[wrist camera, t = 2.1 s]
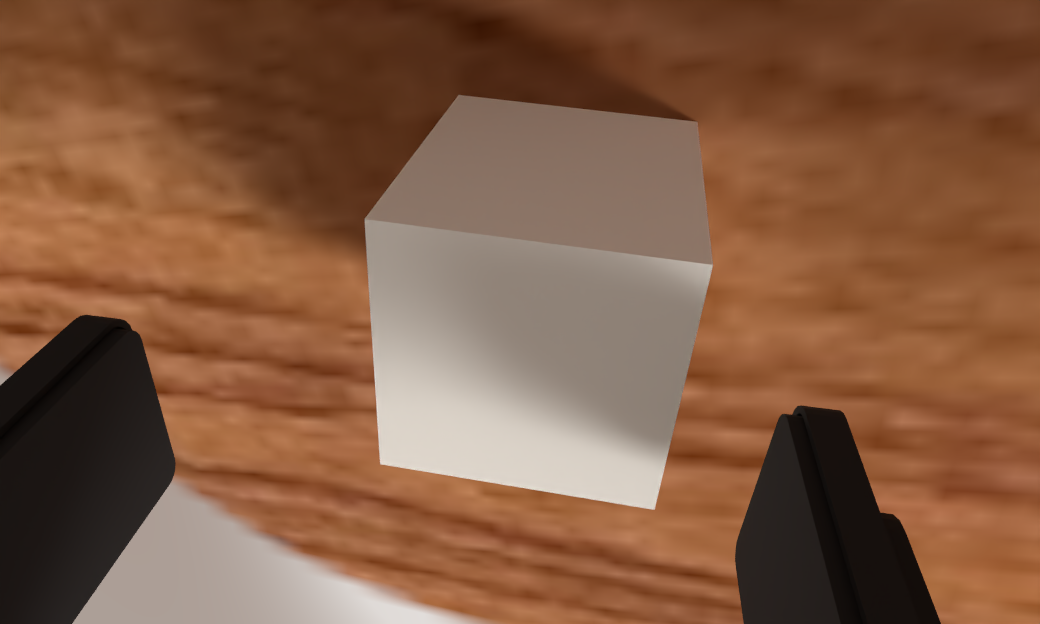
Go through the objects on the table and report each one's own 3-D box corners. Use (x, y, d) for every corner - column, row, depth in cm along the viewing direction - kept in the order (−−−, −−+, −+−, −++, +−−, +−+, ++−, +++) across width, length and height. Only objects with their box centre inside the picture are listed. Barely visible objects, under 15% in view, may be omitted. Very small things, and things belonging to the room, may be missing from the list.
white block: (697, 120, 15) (713, 264, 10) (657, 320, 18) (654, 509, 13) (459, 94, 16) (364, 218, 11) (456, 292, 18) (380, 464, 14)
